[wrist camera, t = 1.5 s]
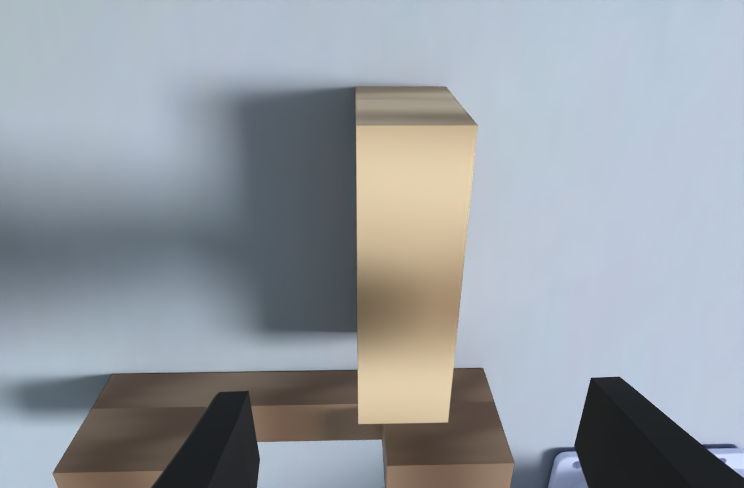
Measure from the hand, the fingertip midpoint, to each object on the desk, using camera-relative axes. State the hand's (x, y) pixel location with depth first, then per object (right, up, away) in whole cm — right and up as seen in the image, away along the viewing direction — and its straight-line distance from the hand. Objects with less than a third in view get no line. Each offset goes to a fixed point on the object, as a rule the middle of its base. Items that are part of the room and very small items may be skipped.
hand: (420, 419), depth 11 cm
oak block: (0, +4, +8) cm, 10 cm away
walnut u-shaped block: (-4, -3, +12) cm, 13 cm away
